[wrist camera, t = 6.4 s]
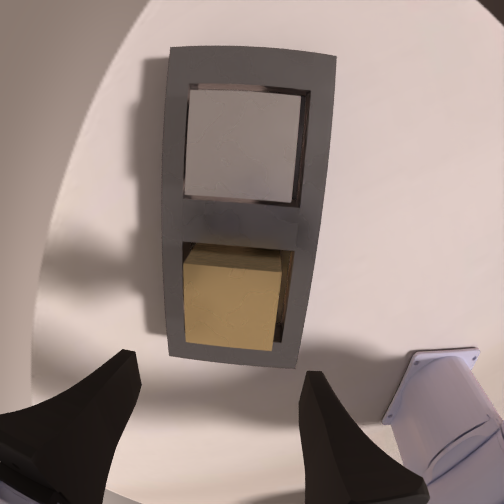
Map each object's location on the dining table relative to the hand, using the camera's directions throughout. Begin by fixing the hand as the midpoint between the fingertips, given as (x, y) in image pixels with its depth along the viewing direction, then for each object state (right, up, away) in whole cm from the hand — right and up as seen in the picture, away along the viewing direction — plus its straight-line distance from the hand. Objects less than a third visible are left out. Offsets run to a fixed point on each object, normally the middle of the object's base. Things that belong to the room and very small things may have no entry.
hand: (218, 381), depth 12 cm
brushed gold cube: (0, +4, +9) cm, 10 cm away
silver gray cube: (+1, +12, +6) cm, 13 cm away
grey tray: (+1, +8, +8) cm, 11 cm away
